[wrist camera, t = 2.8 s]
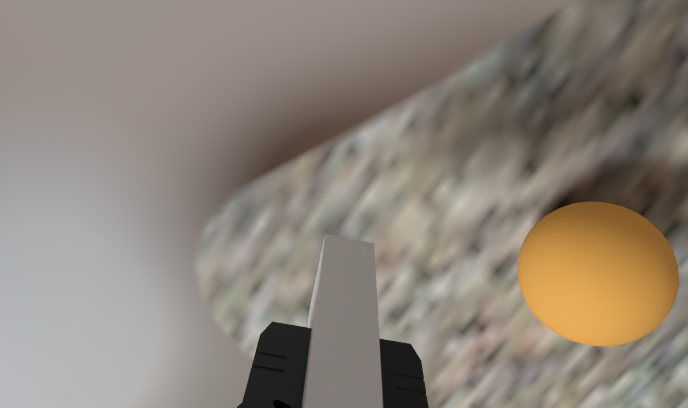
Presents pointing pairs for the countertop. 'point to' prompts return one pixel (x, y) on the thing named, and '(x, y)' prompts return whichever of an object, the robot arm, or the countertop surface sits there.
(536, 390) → the countertop surface
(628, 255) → the ball
